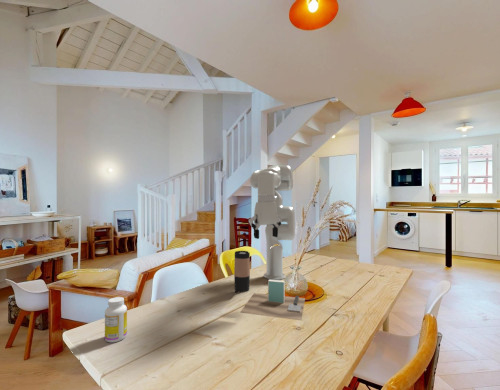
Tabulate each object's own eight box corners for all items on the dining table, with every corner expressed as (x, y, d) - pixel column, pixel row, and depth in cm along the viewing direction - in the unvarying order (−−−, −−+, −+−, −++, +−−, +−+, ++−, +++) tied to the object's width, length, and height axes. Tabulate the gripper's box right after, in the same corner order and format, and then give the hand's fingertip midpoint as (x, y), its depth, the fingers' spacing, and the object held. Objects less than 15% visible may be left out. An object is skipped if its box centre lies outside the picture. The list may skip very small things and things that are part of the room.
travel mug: (231, 293, 129) (231, 252, 129) (239, 288, 135) (239, 250, 136) (244, 296, 125) (245, 254, 125) (252, 291, 132) (252, 251, 132)
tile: (269, 299, 117) (269, 279, 117) (284, 301, 116) (284, 280, 116) (268, 301, 115) (268, 280, 115) (283, 303, 113) (284, 282, 114)
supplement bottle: (121, 330, 92) (121, 294, 92) (130, 337, 88) (130, 298, 88) (101, 338, 87) (101, 299, 87) (109, 345, 83) (110, 305, 83)
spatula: (291, 297, 120) (291, 295, 120) (302, 298, 119) (302, 296, 119) (287, 310, 106) (287, 308, 106) (300, 312, 104) (300, 309, 104)
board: (254, 296, 125) (254, 292, 125) (305, 301, 119) (305, 298, 119) (240, 316, 104) (240, 312, 104) (301, 324, 98) (301, 320, 98)
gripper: (277, 199, 124) (277, 235, 124) (245, 199, 116) (245, 237, 116) (286, 199, 118) (286, 237, 118) (253, 199, 109) (253, 240, 109)
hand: (266, 237), depth 117 cm, fingers open, 9 cm apart
